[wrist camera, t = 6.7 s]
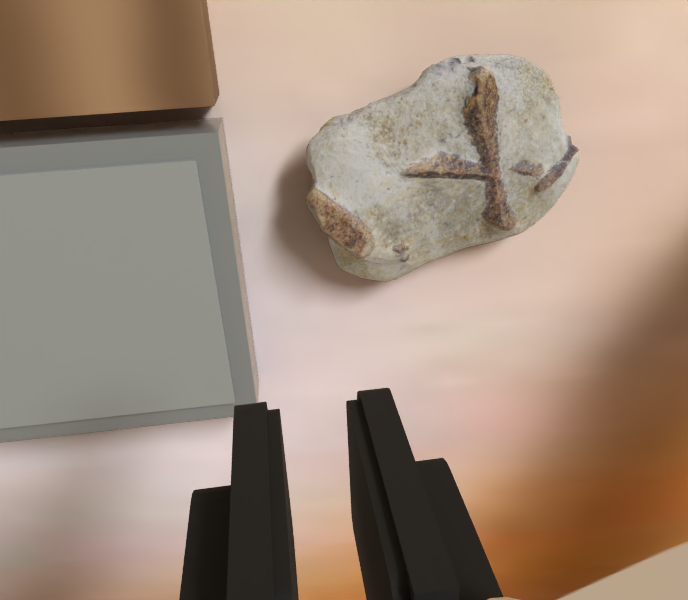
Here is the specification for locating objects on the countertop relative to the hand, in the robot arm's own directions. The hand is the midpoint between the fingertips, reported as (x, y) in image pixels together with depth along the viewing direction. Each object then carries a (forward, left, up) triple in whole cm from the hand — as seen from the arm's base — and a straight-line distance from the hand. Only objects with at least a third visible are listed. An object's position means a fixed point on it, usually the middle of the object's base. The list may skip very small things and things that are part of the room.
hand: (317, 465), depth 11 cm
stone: (-3, -2, -20) cm, 20 cm away
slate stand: (+9, +4, -20) cm, 22 cm away
